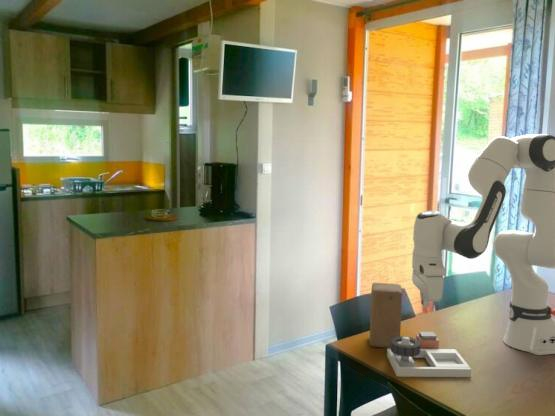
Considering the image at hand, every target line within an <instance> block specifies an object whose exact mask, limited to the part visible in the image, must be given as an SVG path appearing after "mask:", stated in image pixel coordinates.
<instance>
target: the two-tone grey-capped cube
mask: <svg viewBox="0 0 555 416" xmlns="http://www.w3.org/2000/svg"><path fill="white" fill-rule="evenodd" d="M415 339H417V340H418V341H420V343H421V349H440V348H439V346H440V340H439V338H438V337H437V335H436V333H435V332H434V331H418V334H416V338H415Z"/></svg>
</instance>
